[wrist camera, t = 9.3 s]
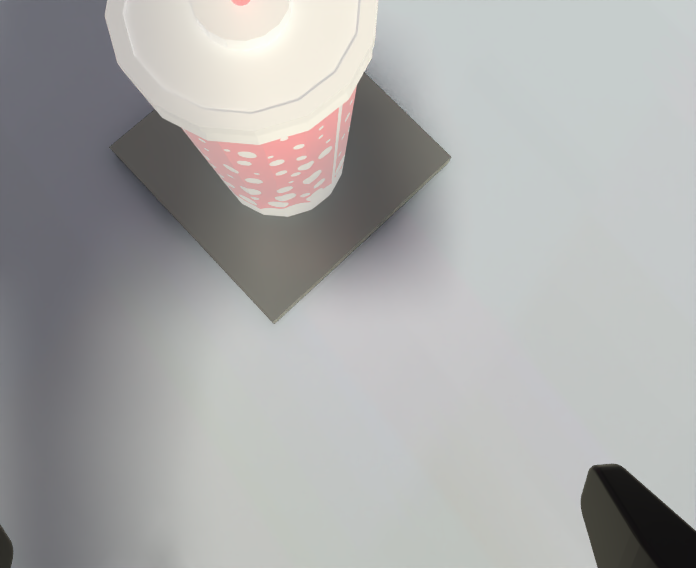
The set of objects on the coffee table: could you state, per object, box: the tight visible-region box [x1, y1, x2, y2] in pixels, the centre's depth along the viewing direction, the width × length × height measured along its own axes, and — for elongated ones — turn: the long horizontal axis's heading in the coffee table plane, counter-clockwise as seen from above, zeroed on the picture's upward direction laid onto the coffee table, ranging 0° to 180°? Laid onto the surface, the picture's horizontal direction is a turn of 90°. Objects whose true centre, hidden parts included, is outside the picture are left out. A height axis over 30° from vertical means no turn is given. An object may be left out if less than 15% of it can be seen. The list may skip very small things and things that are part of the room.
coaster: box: [109, 73, 451, 324], centre depth 22 cm, size 9×9×1 cm
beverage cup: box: [105, 0, 378, 217], centre depth 15 cm, size 6×6×14 cm
